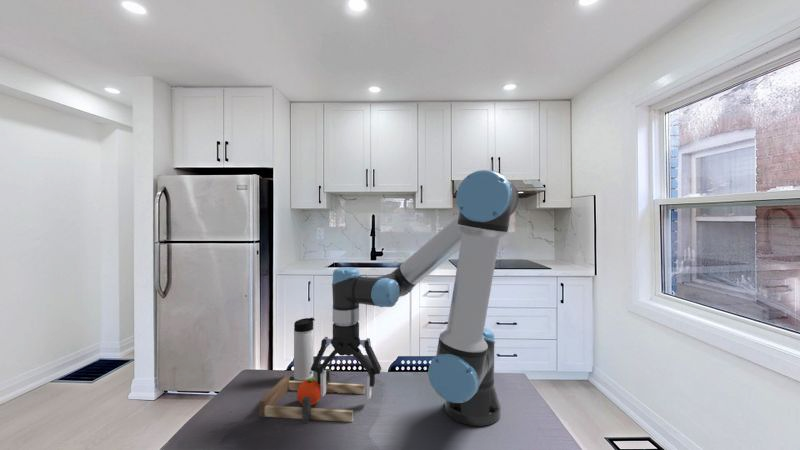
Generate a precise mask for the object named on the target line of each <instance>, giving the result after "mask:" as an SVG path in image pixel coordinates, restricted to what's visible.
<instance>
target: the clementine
mask: <svg viewBox="0 0 800 450" xmlns="http://www.w3.org/2000/svg"><path fill="white" fill-rule="evenodd" d="M296 396H297V397H296V398H297V400H298V402H299V403H300V404H301V405H302V400H303V398H304V397H311V398H310V406H311V407H312V406H314V405H315V404H317V403H318V402H319V400H320V399H321V398H322V397H321V386H320V384H318V382H317V378H316V377H313V378H310V379H308V380H305V381H304V382H302V383H301V384H300V386H299V388H298V390H296Z"/></svg>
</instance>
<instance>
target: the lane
mask: <svg viewBox="0 0 800 450" xmlns="http://www.w3.org/2000/svg"><path fill="white" fill-rule="evenodd" d="M325 370H326V393H333V392H337V393H338V394H352V393H355V394H356V395H365V391H366V390H365V389H366V385H365V384H364V383H359V384H358V383H345V382H344V383H342V382H341V383H340V382H332V369H331V368H325ZM290 377H291V376H290V375H284V376H283V377H282V378H281V379H280V380H279V381H278V382H277V383H276V384H275V385H274V386H273V387H272V388H271V389H270V390H269V391H268V392H267V393H266V394H265V395H264V396H263V397H262V398H261V399H260V400H259V410H258V411H259V415H258V416H259V417H268V418H269V417H270V418H285V419H286V418H287V419H296V420H297V419H300V420H301V421H302V424H309V422H310V421H311V420H315V421H316V420H317V421H331V422H345V423H346V422H347V423H353V421H354V410H353V409H352V410H351V409H336V408H335V409H334V408H321V407H319V408H318V407H312V405H311V406H310V398H311V397H304V398H303V400H302V404H301V405H302V407H301V406H287V405H286V406H285V405H277V403H278V402H279V401H280V400H281V399H282V398H283V397H284V395H286V393H287V392H288V391H297V390H298V388H299V386H300V384H301V383H302V382H304V381H294V380H291V378H290ZM320 386H321V384H320ZM355 394H354V395H355Z"/></svg>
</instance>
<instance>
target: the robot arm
mask: <svg viewBox="0 0 800 450" xmlns="http://www.w3.org/2000/svg"><path fill="white" fill-rule="evenodd" d="M455 196H456V197H455V198H456V204H457V207H458V210H459V212H458V215H457V216H456V217H455V218H454V219H453V220H451V221H450V222H449V223H448V224H446V226H444V227H443V228H442V229H441V230H440V231H438V232H437V233H436V234H435V235H434V236H432V238H430V239H429V240H428V241H427V242H426V243H424V244H423V245H422V246H421V247H420V248H419V249H418V250H416V251H415V252H414V253H413V254H411V256H409V257H408V258H407V259H406V260H405V261H403V262H402V263H401V264H400V265H399V266H397V267H396V269H394V270H393V271H392V272H390V273H387V274H384V275H380V276H376V277H375V276H374V277H373V276H372V277H370V276H361V275H360V270H359V269H358V268H356V267H339V268H338V267H337V268H336V269H334V270H333V272H332V283H331V285H332V287H331V288H332V322H333V323H332V338H328V336H324V338H323V339H321V344H320V348H319V351H318V352H317V355H316V356H315V358H314V360H313V365H312V367H311V371H313V372H315V373H316V375H317V376H316V377H317V380H316V381H317V382H318V384H321V397H320V398H324V397H325V395H326V393H327V392H326V367H327V366H328V365H329V363H330V362H331V361H332V360H333V359H334V358H335V356H336V355H337V354H338V355H339V356H347V357H351V356H353V357H354V358H355V359H356V360H357V361H358V363H359V364H360V365H361V366H362V368H364V370H365V371H366V372H367V375H366V400H370V399H371V397H372V387H374V386H375V384H376V375H380V373H381V370H382V366H381V365H380V363H379V360H378V358H377V356H376V353H375V352H374V350H373V348H372V345H371V338H366V339H360V322H359V321H360V305H367V306H374V307H375V306H376V307H379V308H393V307H394V306H395V305H396V304H397V302H398V300H399V299H400V297H405V296H406V295H408V294H409V293H411V291H412V290H413V289H414V287H415V286H416V285H417V284H419V283H420V282H421V281H422V280H423V279H425V278H426V277H428V276H429V275H430V274H431V273H432V272H433V271H435V270H436V269H437V268H438V267H440V266H441V265H442V264H444V263H445V262H446V261H447V260H449V259H450V258H451V257H453V255H455V254H456V253H457V252H458V251H459V253H458V259H457V266H456V271H455V276H454V277H455V278H454V283H453V289H452V296H451V300H450V301H451V302H450V309H449V314H448V321H447V327H446V329H445V330H443V331H442V332H440V333H439V336H438V344H437V349H436V354H435V356H434V357H433V358H432V360H431V361H430V364H429V366H428V369H427V370H428V371H427V374H428V375H427V376H428V380H429V383H430V385H431V387H432V388H433V390H434V392H436V394H437V395H438V396H439V397H440V398H442V399H444V403H445V404H444V405H445V406H444V410H445V412H446V415H448V416H449V417H450V418H451V419H453V420H454V421H456V422H458V423H460V424H462V425H463V424H464V425H467V426H474V427H476V426H477V427H482V426H490V425H492V424H496V422H498V421H499V420H500V418H501V416H502V415H501V414H502V409H501V408H502V406H501V402H500V400H499V397H498V393H497V392H498V391H496V387H495V344H496V341H495V333H494V332H493V331H492V330H491V329H488V328H485V327H486V326H485V325H486V319H487V313H488V307H489V301H490V296H491V291H492V284H493V278H494V272H495V267H496V261H497V254H498V249H499V242H500V240H501V238H503V237H504V236H505V235H507V234H508V231H509V223H510V219H511V216H512V215H513V214H514V212H515V210H517V208H518V207H517V206H518V204H519V193H518V190H517V187H516V186H515V185H514V183H513V182H512V181H511V180H509V179H508V178H507V177H506V176H505V175H503V174H502V173H501V172H498V171H496V170H490V169H479V170H476V171H473V172H472V173H469V174H468V175H467V176H465V178H463V179H462V181H461V182H460V184H459V185H458V187H457V191H456V195H455ZM330 345H331V346H332V347H333V348H334V349H333V350H332V352H331V353H330V354H329V355H328V356H327V357H326V359H325V360H324V361H323V362H322V363H321V365H319V364H320V362H321V360H322V358H323V356H324V353H325V351H326V349H327V347H329V346H330ZM360 345H361V346H362V348H363V349H364V350H365V353H366V355H367V357H368V359H369V360H368V359H367V357H365V354H363V352H362V350H361V349H360Z"/></svg>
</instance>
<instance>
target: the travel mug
mask: <svg viewBox="0 0 800 450" xmlns="http://www.w3.org/2000/svg"><path fill="white" fill-rule="evenodd" d="M314 321H315V318H314V317H307V318H300V319H297V320H295V321H294V323H293V324H294V325H293V326H294V328H293V331H294V332H293V381H305V380H308V379H310V378H314V371H311V367H312V365H313V363H314Z"/></svg>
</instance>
